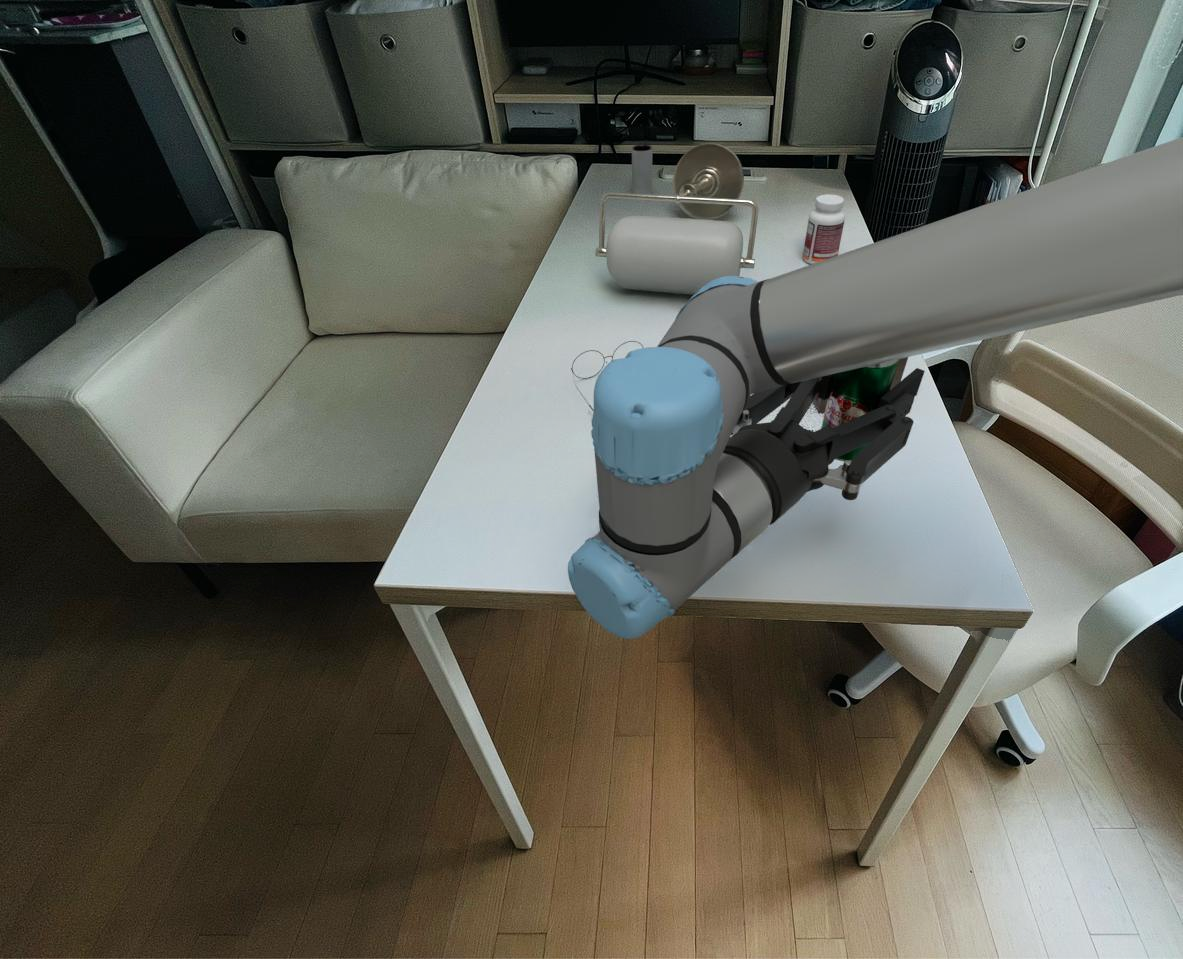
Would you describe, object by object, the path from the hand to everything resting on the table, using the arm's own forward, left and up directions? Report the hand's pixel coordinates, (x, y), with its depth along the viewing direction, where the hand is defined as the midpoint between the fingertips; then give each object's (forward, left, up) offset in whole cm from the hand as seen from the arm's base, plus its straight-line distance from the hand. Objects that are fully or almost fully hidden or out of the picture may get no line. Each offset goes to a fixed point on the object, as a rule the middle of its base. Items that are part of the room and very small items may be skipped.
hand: (887, 370), depth 63 cm
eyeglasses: (+26, +24, -19) cm, 40 cm away
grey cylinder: (+103, +13, -19) cm, 105 cm away
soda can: (-3, +4, -7) cm, 9 cm away
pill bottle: (+64, -16, -19) cm, 68 cm away
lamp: (+69, +7, -19) cm, 72 cm away
